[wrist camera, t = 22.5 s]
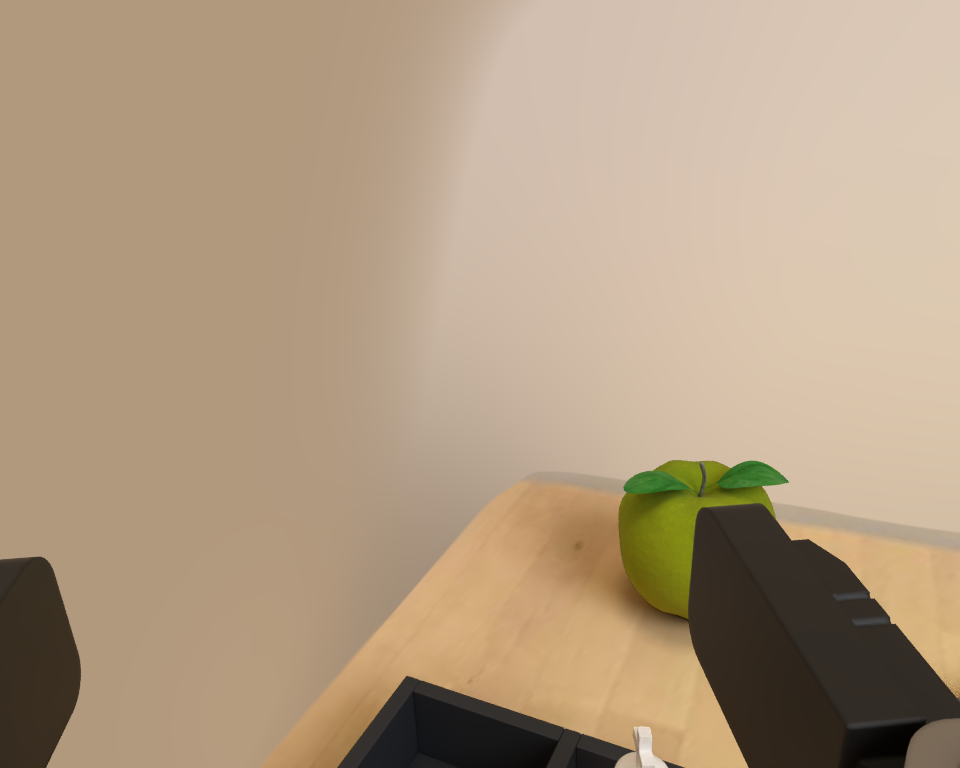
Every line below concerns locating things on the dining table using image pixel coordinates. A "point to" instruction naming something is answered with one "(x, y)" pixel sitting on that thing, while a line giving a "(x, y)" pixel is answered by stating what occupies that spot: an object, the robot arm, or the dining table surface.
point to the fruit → (679, 521)
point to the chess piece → (641, 752)
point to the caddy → (470, 736)
